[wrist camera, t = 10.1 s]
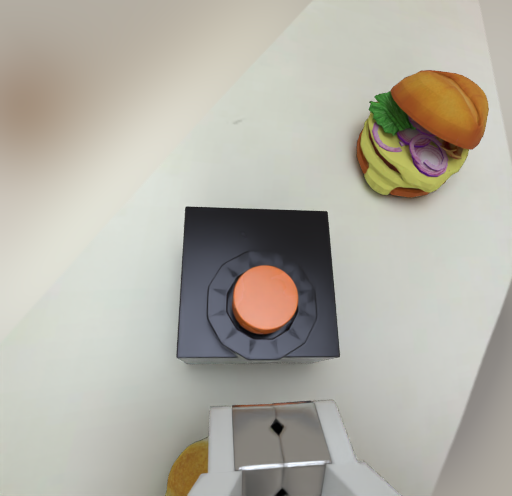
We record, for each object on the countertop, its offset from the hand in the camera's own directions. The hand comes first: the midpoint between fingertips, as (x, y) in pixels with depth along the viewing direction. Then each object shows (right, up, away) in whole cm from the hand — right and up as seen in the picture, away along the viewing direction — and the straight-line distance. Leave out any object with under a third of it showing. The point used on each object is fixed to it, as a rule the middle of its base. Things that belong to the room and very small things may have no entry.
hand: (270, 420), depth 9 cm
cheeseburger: (+14, +13, +29) cm, 35 cm away
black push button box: (-1, 0, +22) cm, 22 cm away
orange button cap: (0, +1, +13) cm, 13 cm away
